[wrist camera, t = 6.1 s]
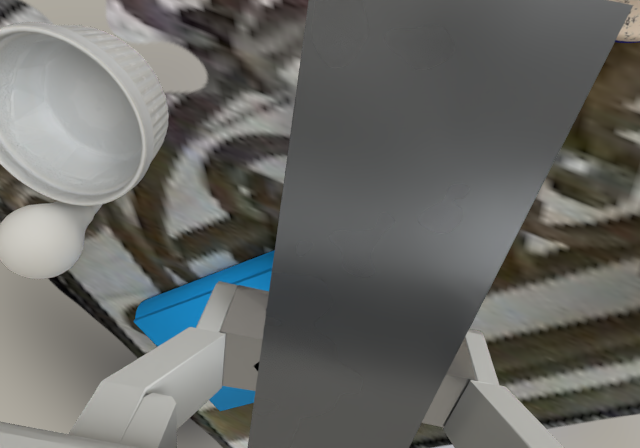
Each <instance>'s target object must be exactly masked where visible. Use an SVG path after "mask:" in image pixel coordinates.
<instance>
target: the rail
mask: <svg viewBox="0 0 640 448" xmlns="http://www.w3.org/2000/svg"><path fill="white" fill-rule="evenodd" d="M632 7H633V5H629V4H624V3H619V2H614V1H609V0H309V3H308V10H307V18H306V25H305V32H304V40H303V47H302V54H301V62H300V69H299V76H298V83H297V91H296V98H295V105H294V113H293V120H292V127H291V135H290V142H289V149H288V157H287V164H286V171H285V179H284V186H283V193H282V201H281V208H280V215H279V223H278V230H277V237H276V244H275V252H274V259H273V266H272V274H271V281H270V288H269V296H268V303H267V310H266V318H265V325H264V332H263V340H262V347H261V354H260V362H259V369H258V376H257V383H256V391H255V398H254V405H253V413H252V420H251V427H250V435H249V442H248V448H409V446H410V444H411V442H412V440H413V439H414V437H415V435H416V433H417V431H418V429H419V427H420V425H421V423H422V421H423V419H424V417H425V415H426V413H427V411H428V409H429V407H430V405H431V403H432V401H433V399H434V397H435V395H436V393H437V391H438V389H439V387H440V385H441V383H442V381H443V379H444V377H445V375H446V373H447V371H448V370H449V368H450V366H451V364H452V362H453V360H454V358H455V356H456V354H457V352H458V350H459V348H460V346H461V344H462V342H463V340H464V338H465V336H466V334H467V332H468V330H469V328H470V326H471V324H472V322H473V320H474V318H475V316H476V314H477V312H478V310H479V308H480V306H481V304H482V302H483V300H484V299H485V297H486V295H487V293H488V291H489V289H490V287H491V285H492V283H493V281H494V279H495V277H496V275H497V273H498V271H499V269H500V267H501V265H502V263H503V261H504V259H505V257H506V255H507V253H508V251H509V249H510V247H511V245H512V243H513V241H514V239H515V237H516V235H517V233H518V231H519V229H520V228H521V226H522V224H523V222H524V220H525V218H526V216H527V214H528V212H529V210H530V208H531V206H532V204H533V202H534V200H535V198H536V196H537V194H538V192H539V190H540V188H541V186H542V184H543V182H544V180H545V178H546V176H547V174H548V172H549V170H550V168H551V166H552V164H553V162H554V160H555V159H556V157H557V155H558V153H559V151H560V149H561V147H562V145H563V143H564V141H565V139H566V137H567V135H568V133H569V131H570V129H571V127H572V125H573V123H574V121H575V119H576V117H577V115H578V113H579V111H580V109H581V107H582V105H583V103H584V101H585V99H586V97H587V95H588V93H589V91H590V89H591V88H592V86H593V84H594V82H595V80H596V78H597V76H598V74H599V72H600V70H601V68H602V66H603V64H604V62H605V60H606V58H607V56H608V54H609V52H610V50H611V48H612V46H613V44H614V42H615V40H616V38H617V36H618V34H619V32H620V30H621V28H622V26H623V24H624V22H625V20H626V19H627V17H628V15H629V13H630V11H631V9H632Z"/></svg>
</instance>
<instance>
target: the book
mask: <svg viewBox="0 0 640 448" xmlns="http://www.w3.org/2000/svg"><path fill="white" fill-rule="evenodd" d="M274 252H275V250H274V251H271V252H268V253H266V254H263V255H261V256H258V257H255V258H253V259H250V260H248V261H245V262H242V263H240V264H237V265H235V266H232V267H229V268H227V269H224V270H222V271H219V272H216V273H214V274H211V275H209V276H206V277H203V278H201V279H198V280H196V281H193V282H190V283H188V284H185V285H183V286H180V287H178V288H175V289H172V290H170V291H167V292H165V293H162V294H159V295H157V296H154V297H152V298H149V299H146V300H144V301H143V302H141V303H140V305H139V306H138V308H137V311H136V316H135V320H134V323H135V324H136V325H137V326H138V327H139V328H140V329H141V330H142V331H143V332H144V333H145V334H146V335H147V336H148V337H149V338H150V339H151V340H152V341H153V342H154V343H155V345H156V346H157V347H158V346H159V345H161V344H163V343H164V342H166V341H168V340H169V339H171V338H172V337H174V336H176V335H177V334H179V333H181V332H182V331H184V330H185V329H187V328H189V327H193V328H196V326H197V324H198V322H199V320H200V317H201V315H202V313H203V311H204V309H205V306H206V304H207V302H208V300H209V298H210V296H211V293H212V291H213V289H214V287H215V285H216V284H217V283H218V282H219V281H221V282H225V283H230V284H234V285H241V286H246V287H251V288H255V289H260V290H265V291H269V288H270V281H271V274H272V266H273V259H274ZM254 398H255V391H252V390H245V389H239V388H233V387H227V386H222V388H221V389H220V390H219V391H218V392H217V393H216V394H215V395H214V396H213V397H212V398H210V399H209V400H210V401H211V402H212V403H213V404H214V405H215V407H216V408H217V409H218V410H219V411H223V410H227V409H231V408H235V407H238V406H242V405H246V404H250V403H254Z"/></svg>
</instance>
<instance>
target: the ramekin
mask: <svg viewBox="0 0 640 448" xmlns="http://www.w3.org/2000/svg"><path fill="white" fill-rule="evenodd" d="M168 118H169V114H168V105H167V102H166V96H165V94H164V91H163V87H162V86H161V84H160V82H159V79H158V77H157V76H156V74H155V72H154V71H153V69H152V68H151V67H150V66H149V64H148V62H147V61H146V60H144V58H143V57H142V56H141V54H140V53H138V52H137V51H136V50H135V49H134V48H132V47H131V46H129V45H128V44H127V43H126V42H125V41H123V40H120V39H119V38H117V37H116V36H115V35H112V34H109V33H107V32H106V31H103V30H98V29H96V28H93V27H86V26H81V25H53V24H48V23H41V22H22V23H16V24H12V25H8V26H5V27H2V28H0V164H1V165H2V166H3V167H4V168H5V169H6V170H7V171H8V172H9V173H10V174H12V175H13V176H14V177H15V178H17V179H18V180H19V181H21V182H22V183H23V184H25V185H26V186H28V187H29V188H31V189H33V190H35V191H36V192H38V193H40V194H42V195H44V196H46V197H49V198H51V199H54V200H57V201H60V202H63V203H67V204H72V205H82V206H93V205H101V204H106V203H109V202H111V201H114V200H116V199H118V198H120V197H122V196H123V195H125V194H126V193H128V192H129V191H130V190H131V189H132V188H134V187H135V186H136V185H137V184H138V183H139V182H140V181H141V179H142V178H143V177H144V175H145V173H146V172H147V170H148V168H149V165H150V163H151V161H152V160H153V159H154V157H155V156H156V154H157V152H158V151H159V149H160V147H161V145H162V144H163V142H164V138H165V136H166V133H167V128H168Z"/></svg>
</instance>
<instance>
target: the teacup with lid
mask: <svg viewBox="0 0 640 448" xmlns="http://www.w3.org/2000/svg"><path fill="white" fill-rule="evenodd" d="M609 1H614V2H619V3H624V4H629V5H633V7H632V9H631V11H630V13H629V15H628V17H627V19H626V20H625V22H624V24H623V26H622V28H621V30H620V32H619V34H618V36H617V38H616V40H615V42H619V43H636V42H640V0H609Z"/></svg>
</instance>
